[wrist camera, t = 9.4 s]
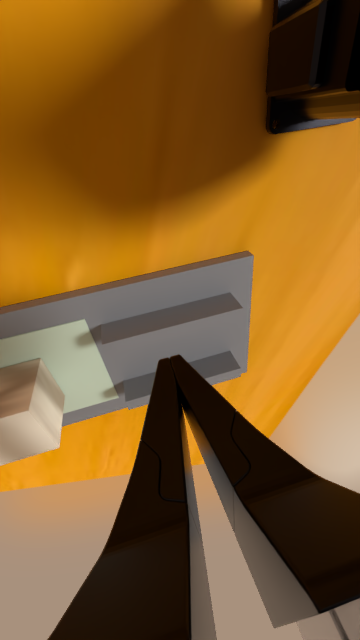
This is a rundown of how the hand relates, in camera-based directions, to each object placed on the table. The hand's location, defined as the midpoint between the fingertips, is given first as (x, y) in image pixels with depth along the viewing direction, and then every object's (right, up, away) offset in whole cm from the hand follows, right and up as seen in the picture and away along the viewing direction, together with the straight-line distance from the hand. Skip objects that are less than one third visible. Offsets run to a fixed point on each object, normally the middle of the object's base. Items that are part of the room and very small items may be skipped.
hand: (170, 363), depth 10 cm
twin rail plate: (-4, -1, +14) cm, 15 cm away
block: (-13, -4, +12) cm, 18 cm away
